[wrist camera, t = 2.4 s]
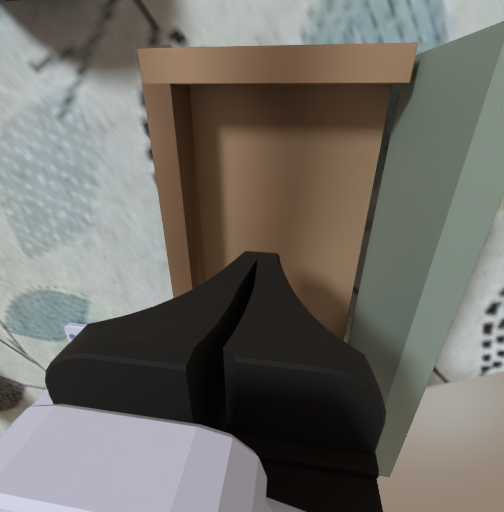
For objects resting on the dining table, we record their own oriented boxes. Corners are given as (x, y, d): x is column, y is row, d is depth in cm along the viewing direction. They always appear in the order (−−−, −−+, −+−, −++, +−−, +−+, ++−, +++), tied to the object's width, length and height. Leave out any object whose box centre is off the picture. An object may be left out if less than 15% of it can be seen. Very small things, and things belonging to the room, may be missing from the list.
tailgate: (344, 359, 17) (363, 473, 12) (406, 59, 10) (511, 18, 5) (362, 361, 17) (389, 477, 12) (436, 58, 10) (576, 16, 5)
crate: (202, 328, 20) (184, 370, 17) (176, 60, 13) (137, 48, 10) (336, 342, 19) (343, 390, 16) (387, 57, 12) (418, 42, 9)
